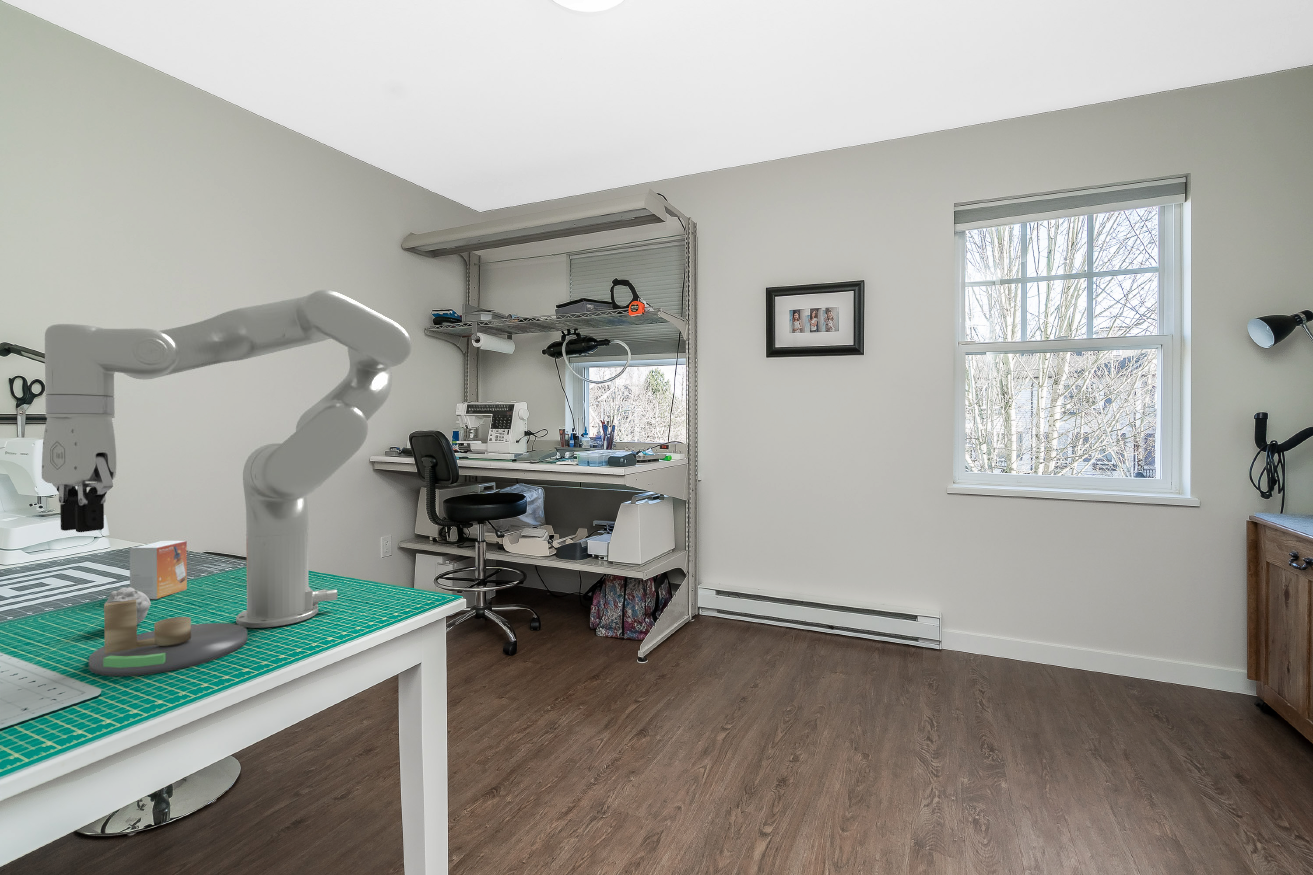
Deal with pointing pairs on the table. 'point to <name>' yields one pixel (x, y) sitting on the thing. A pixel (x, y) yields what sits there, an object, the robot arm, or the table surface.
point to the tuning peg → (124, 628)
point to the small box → (159, 568)
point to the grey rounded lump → (132, 594)
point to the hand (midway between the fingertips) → (82, 528)
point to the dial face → (171, 652)
